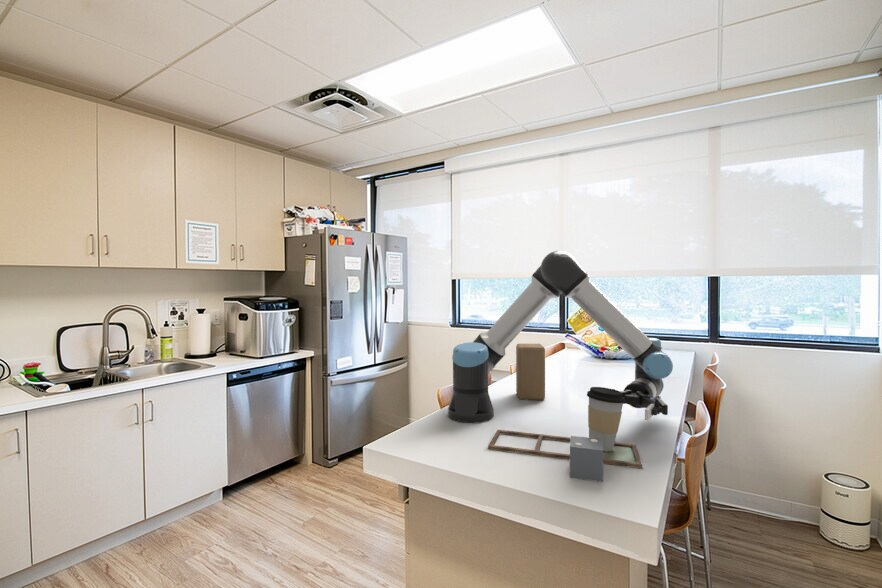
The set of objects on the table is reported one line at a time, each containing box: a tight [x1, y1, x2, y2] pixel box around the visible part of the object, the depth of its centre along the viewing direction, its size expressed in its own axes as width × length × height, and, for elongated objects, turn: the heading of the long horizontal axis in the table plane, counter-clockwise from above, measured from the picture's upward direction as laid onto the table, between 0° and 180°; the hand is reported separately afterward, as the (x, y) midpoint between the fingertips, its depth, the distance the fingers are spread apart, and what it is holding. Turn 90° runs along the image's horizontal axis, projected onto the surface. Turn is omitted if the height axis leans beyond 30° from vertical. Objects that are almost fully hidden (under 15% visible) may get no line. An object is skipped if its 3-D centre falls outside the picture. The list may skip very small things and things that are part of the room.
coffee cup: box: [586, 386, 625, 452], centre depth 109 cm, size 9×9×15 cm
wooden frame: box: [487, 429, 643, 469], centre depth 110 cm, size 37×13×1 cm, turn 71°
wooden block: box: [515, 343, 546, 401], centre depth 159 cm, size 10×10×20 cm
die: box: [569, 435, 604, 483], centre depth 95 cm, size 7×7×7 cm
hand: (618, 410), depth 110 cm, fingers open, 13 cm apart
